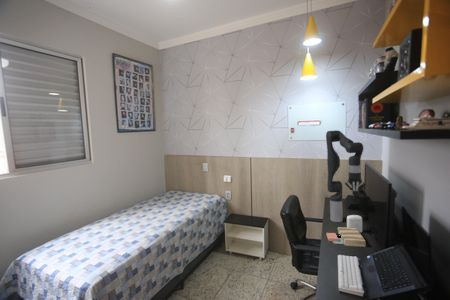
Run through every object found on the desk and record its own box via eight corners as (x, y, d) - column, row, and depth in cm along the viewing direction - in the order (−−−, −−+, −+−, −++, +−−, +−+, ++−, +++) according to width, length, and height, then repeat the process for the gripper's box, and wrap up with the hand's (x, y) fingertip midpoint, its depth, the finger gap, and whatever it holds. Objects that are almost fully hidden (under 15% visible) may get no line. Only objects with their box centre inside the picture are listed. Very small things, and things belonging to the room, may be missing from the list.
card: (335, 233, 161) (335, 235, 161) (326, 232, 163) (326, 235, 163) (338, 238, 153) (338, 241, 153) (328, 238, 154) (329, 241, 154)
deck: (337, 232, 167) (337, 227, 167) (355, 233, 164) (355, 227, 164) (344, 245, 148) (344, 239, 148) (365, 246, 145) (365, 240, 145)
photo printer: (360, 230, 168) (360, 214, 168) (363, 232, 164) (363, 216, 163) (346, 230, 170) (345, 214, 169) (348, 232, 166) (347, 216, 165)
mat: (329, 234, 165) (329, 233, 165) (338, 234, 163) (338, 234, 163) (333, 243, 152) (333, 243, 152) (343, 244, 150) (343, 243, 150)
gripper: (363, 170, 157) (364, 194, 159) (342, 170, 161) (343, 194, 162) (367, 172, 150) (367, 197, 151) (345, 172, 153) (345, 197, 155)
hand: (355, 195), depth 157 cm, fingers closed
